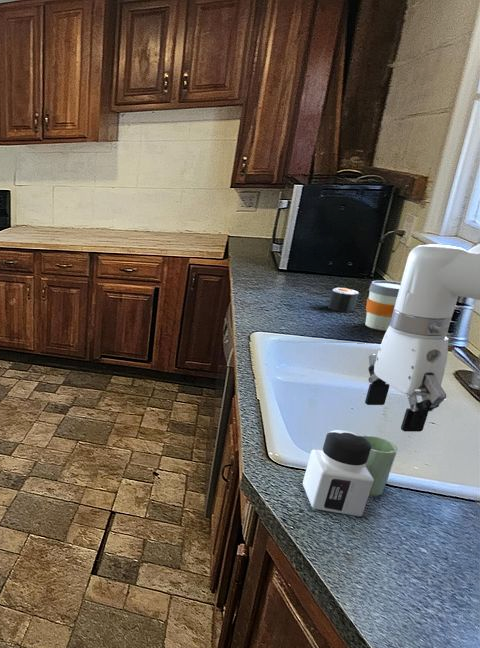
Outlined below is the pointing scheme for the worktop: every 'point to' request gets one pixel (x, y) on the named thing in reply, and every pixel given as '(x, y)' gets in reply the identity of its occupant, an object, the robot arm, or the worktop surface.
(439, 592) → the worktop surface
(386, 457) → the cup
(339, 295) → the sushi
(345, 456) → the container
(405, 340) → the robot arm
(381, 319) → the reusable coffee cup
